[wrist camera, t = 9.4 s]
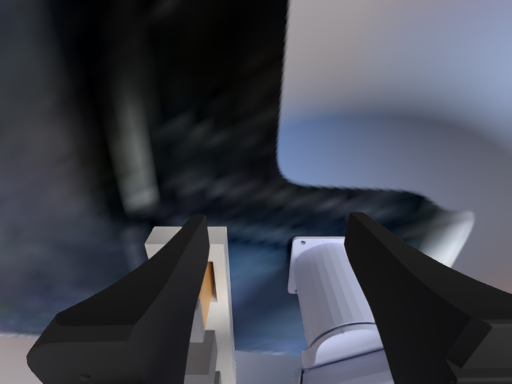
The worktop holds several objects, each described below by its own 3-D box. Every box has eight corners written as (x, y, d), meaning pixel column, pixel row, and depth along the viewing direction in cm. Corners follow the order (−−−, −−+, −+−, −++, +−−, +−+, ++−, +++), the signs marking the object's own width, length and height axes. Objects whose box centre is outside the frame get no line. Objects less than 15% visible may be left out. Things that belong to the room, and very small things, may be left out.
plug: (211, 248, 26) (197, 309, 20) (214, 278, 28) (202, 342, 22) (177, 248, 26) (152, 309, 20) (183, 278, 28) (162, 342, 22)
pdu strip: (226, 226, 24) (216, 285, 18) (236, 373, 38) (232, 435, 32) (154, 226, 24) (120, 285, 18) (190, 373, 38) (178, 435, 32)
